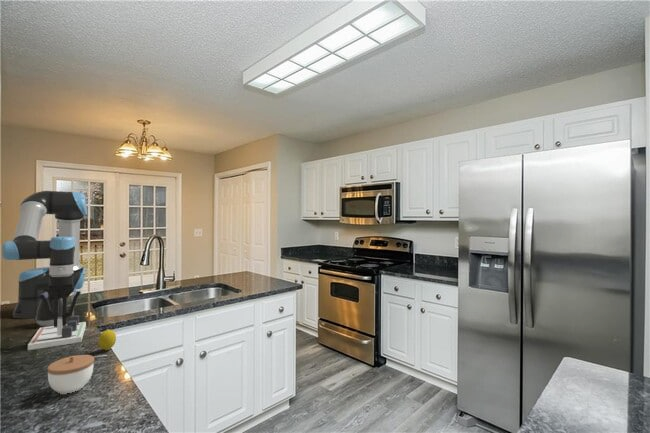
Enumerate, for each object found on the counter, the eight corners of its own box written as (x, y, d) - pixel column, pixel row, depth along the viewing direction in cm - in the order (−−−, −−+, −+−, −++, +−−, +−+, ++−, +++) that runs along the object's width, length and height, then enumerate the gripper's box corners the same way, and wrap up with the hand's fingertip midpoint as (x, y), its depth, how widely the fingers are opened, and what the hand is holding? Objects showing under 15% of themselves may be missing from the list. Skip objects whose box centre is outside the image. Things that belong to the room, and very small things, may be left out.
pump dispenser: (38, 330, 140) (39, 295, 140) (32, 325, 146) (33, 292, 147) (67, 324, 148) (68, 292, 148) (60, 320, 154) (61, 288, 155)
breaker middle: (68, 329, 136) (68, 320, 136) (76, 327, 137) (77, 319, 137) (67, 331, 133) (67, 322, 133) (76, 330, 135) (76, 321, 135)
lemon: (113, 346, 124) (114, 325, 124) (117, 350, 120) (117, 329, 120) (96, 350, 120) (97, 329, 121) (99, 354, 116) (100, 333, 117)
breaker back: (70, 323, 142) (70, 316, 142) (78, 322, 144) (79, 315, 144) (69, 325, 140) (69, 317, 140) (78, 324, 141) (78, 316, 141)
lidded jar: (40, 402, 86) (41, 367, 86) (55, 383, 96) (55, 352, 96) (88, 394, 91) (88, 361, 91) (97, 376, 100) (98, 347, 101)
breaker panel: (39, 332, 138) (40, 327, 138) (85, 326, 146) (86, 321, 147) (27, 350, 119) (27, 344, 119) (81, 341, 128) (81, 336, 128)
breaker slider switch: (62, 335, 128) (63, 326, 128) (72, 334, 130) (72, 325, 130) (61, 337, 126) (61, 328, 126) (71, 336, 128) (71, 327, 128)
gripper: (37, 278, 120) (36, 340, 120) (81, 275, 127) (79, 334, 127) (41, 275, 127) (40, 334, 126) (82, 272, 134) (81, 328, 133)
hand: (59, 334), depth 127 cm, fingers closed
